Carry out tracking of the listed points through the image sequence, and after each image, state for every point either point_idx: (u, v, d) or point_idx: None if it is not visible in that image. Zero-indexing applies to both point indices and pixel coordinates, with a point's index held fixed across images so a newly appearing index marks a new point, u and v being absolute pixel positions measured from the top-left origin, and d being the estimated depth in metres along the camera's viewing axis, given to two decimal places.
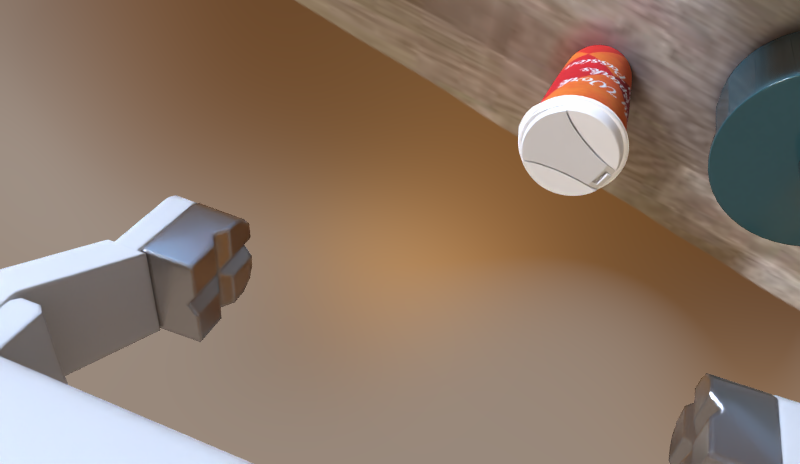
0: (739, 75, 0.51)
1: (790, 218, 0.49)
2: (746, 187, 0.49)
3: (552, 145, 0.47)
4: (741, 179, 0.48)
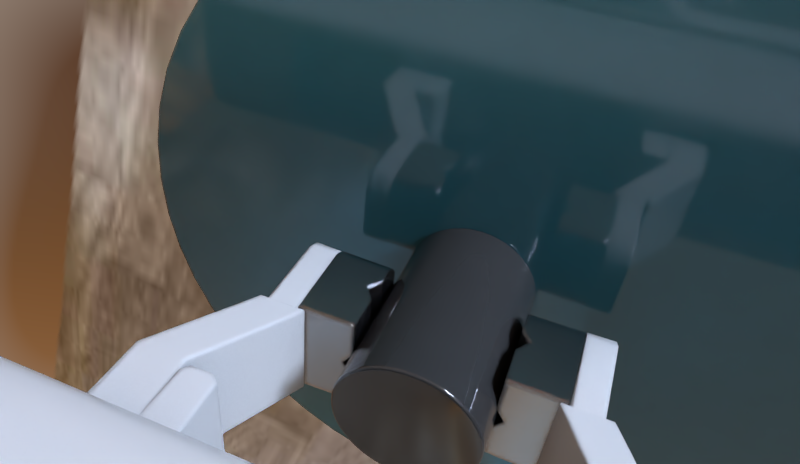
0: None
1: (256, 217, 0.14)
2: (328, 68, 0.11)
3: None
4: (356, 44, 0.11)
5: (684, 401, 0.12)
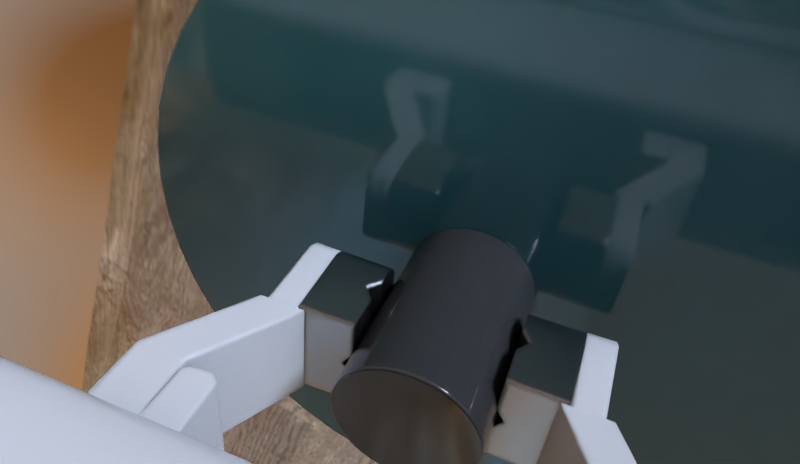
0: None
1: (256, 217, 0.14)
2: (327, 68, 0.11)
3: None
4: (356, 45, 0.11)
5: (684, 401, 0.12)
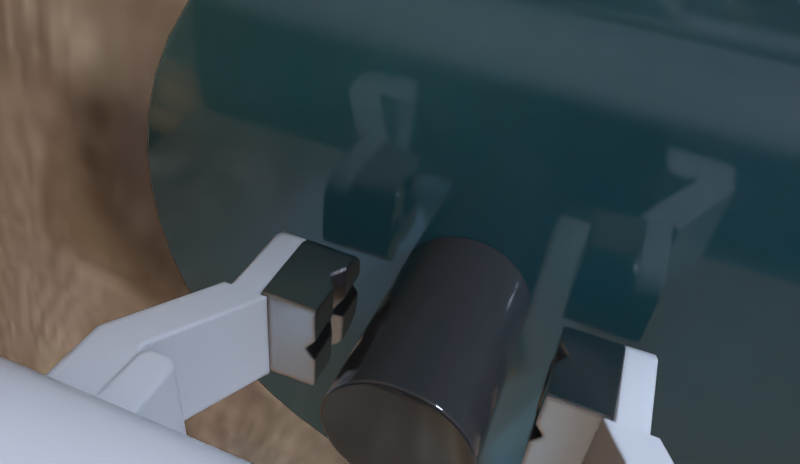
0: None
1: (247, 224, 0.13)
2: (318, 74, 0.11)
3: None
4: (347, 50, 0.10)
5: (681, 412, 0.12)
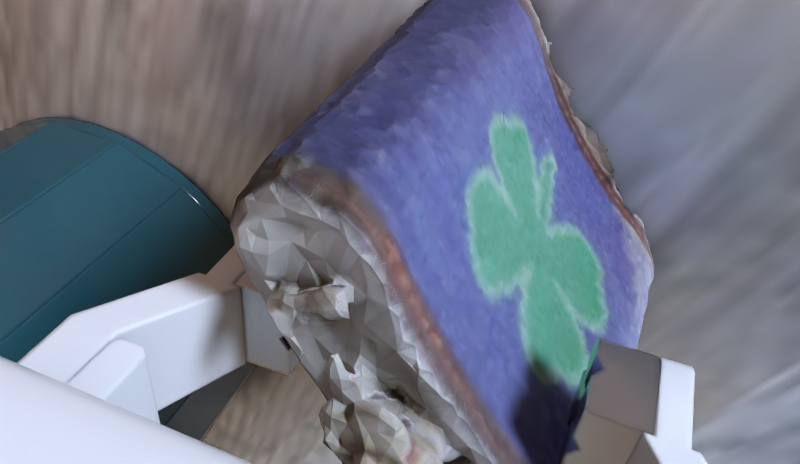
0: (105, 189, 0.20)
1: None
2: None
3: None
4: None
5: None
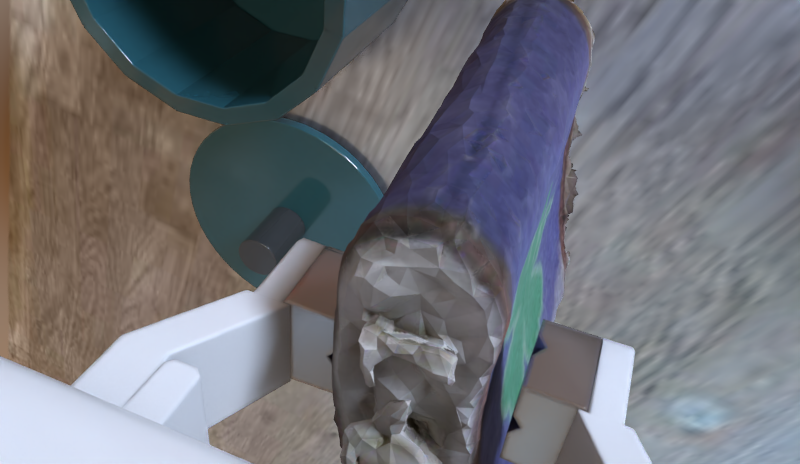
0: None
1: (221, 204, 0.41)
2: (239, 161, 0.39)
3: None
4: (246, 155, 0.38)
5: None
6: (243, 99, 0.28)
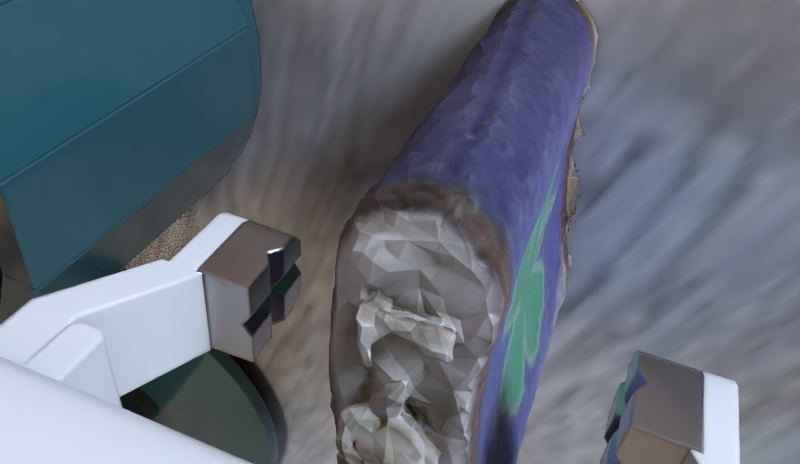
0: None
1: None
2: None
3: None
4: None
5: None
6: None
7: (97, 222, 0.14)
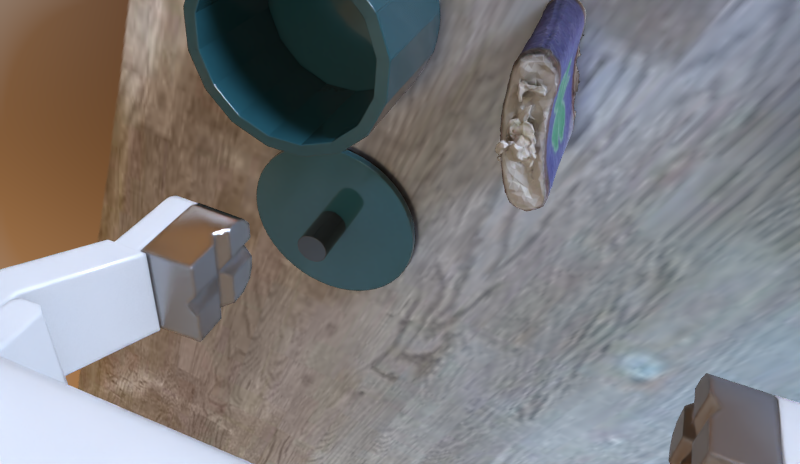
0: None
1: (281, 208, 0.54)
2: (297, 176, 0.52)
3: None
4: (303, 172, 0.51)
5: (380, 250, 0.53)
6: (314, 138, 0.41)
7: (399, 83, 0.38)
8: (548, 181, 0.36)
